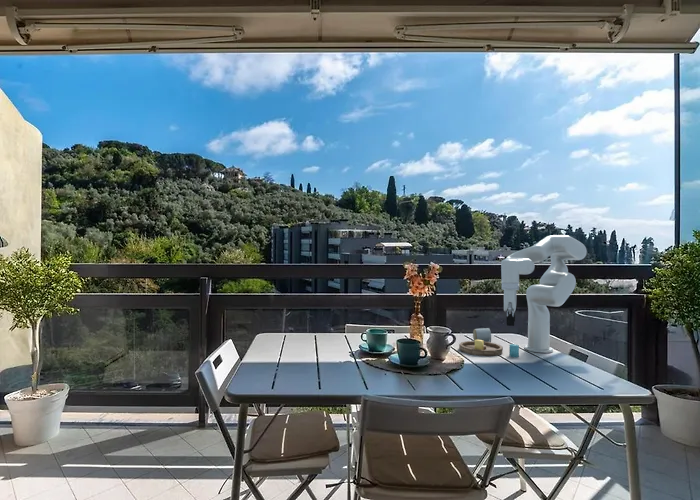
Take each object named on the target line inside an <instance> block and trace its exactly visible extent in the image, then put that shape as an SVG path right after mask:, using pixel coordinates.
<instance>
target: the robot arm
mask: <svg viewBox="0 0 700 500" xmlns="http://www.w3.org/2000/svg"><path fill="white" fill-rule="evenodd" d="M587 252H588V251H587V247H586V246H585V244H583V243H582V242H581V241H580V240H577V239H576V238H574V237H572V236H570V235H565V234H558V235H557V234H553V235H547V236H545V237H543V238H542V239H541V240H539V241H538V242H537V243H535V244H533V245H532V246H529V247H526V248H523V249H520V250H518V251H515V252H513V253H511V254H509V255H507V257H506V258H505V259H502V260H501V261H500V262H501V263H500V265H501V266H500V268H501V269H500V271H501V290H503V311H504V312H506V326H507V327H514V326H515V322H516V308H517V291H520V275H530V274H532V273H533V272H534V271H535V263H541V262H544V261H545V260H546V259H548V258H549V257H550V265H549V266H548V269H546V271H545V272H544V273H543V275H542V276H541V277H540V279H539V284H532V285H529V286H528V287H527V289H526V293H525V296H526V301H527V308H528V309H527V311H528V313H527V315H528V319H527V323H528V325H527V344H526V345H525V344H524V346H523V347H524V349H525V350H527V351H529V352H533V353H541V354H544V353H545V354H546V353H547V354H548V353H552V352H554V348H553V347H551V346H550V336H551V335H550V331H551V329H550V327H551V324H550V323H551V322H550V321H551V315H550V310H549V308H548V307H555V308H556V307H561V306H562V305H563V304H564V303H565V302H566V301H567V300H568V299H569V297H570V296H571V294H572V293H573V291H574V290H575V288H576V285H577V281H576V277H575V275H574V274H572V273H571V272H569V269H568V266H567V264H566V262H565V260H566V261H581V260H583V259H584V258H586V256H587ZM547 306H548V307H547Z"/></svg>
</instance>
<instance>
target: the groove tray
mask: <svg viewBox="0 0 700 500" xmlns="http://www.w3.org/2000/svg"><path fill="white" fill-rule="evenodd" d="M458 346H459V351H460V352H462V353H463V354H468V355H473V356H479V357H480V356H481V357H494V356H495V357H496V356H501V355H502V354H503V350H504V346H502V345H500V344H498V343H495V342H492V341H491V342H484V350H479V349H475V341H474V340H468V341H462V342H460V343H459V344H458Z"/></svg>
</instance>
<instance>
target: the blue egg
mask: <svg viewBox="0 0 700 500" xmlns="http://www.w3.org/2000/svg"><path fill="white" fill-rule="evenodd" d="M508 352H509V355H508V356H509V357H511V358H519V357H520V354H519V353H520V346H519V344H515V343H514V344H513V343H510V344H509V351H508Z"/></svg>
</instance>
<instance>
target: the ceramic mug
mask: <svg viewBox="0 0 700 500" xmlns="http://www.w3.org/2000/svg"><path fill="white" fill-rule="evenodd" d="M472 338H473V341H475V340H483V341H484V342H491V343H492V332H491V329H490V327H486V328H484V327H483V328H482V327H481V328H474V329H473V331H472Z"/></svg>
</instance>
